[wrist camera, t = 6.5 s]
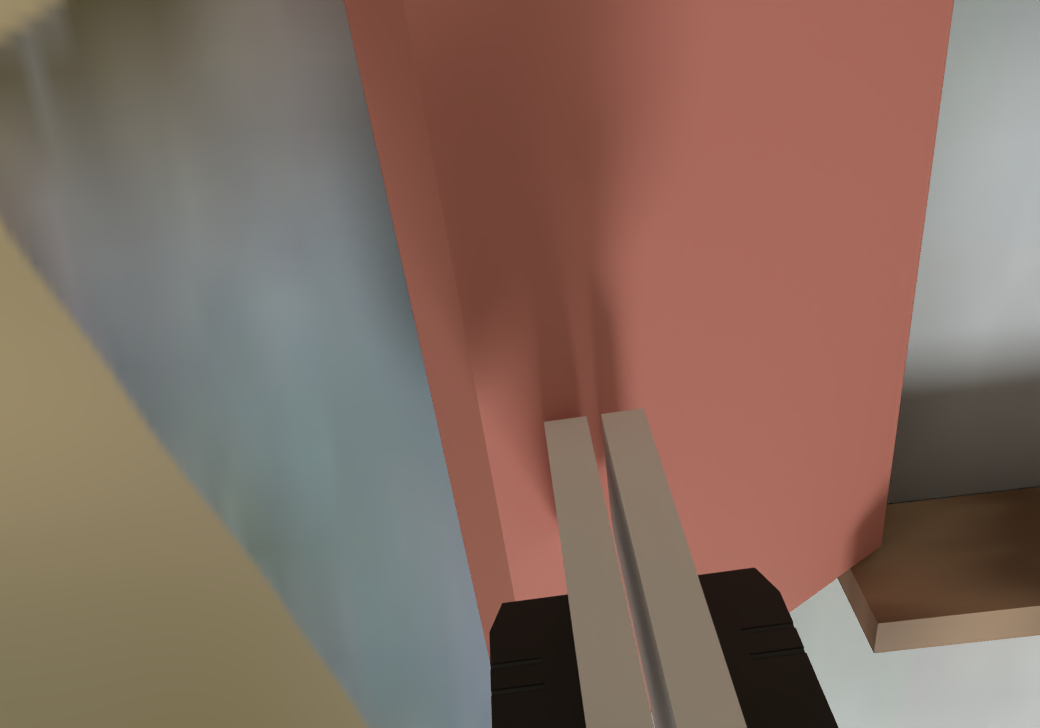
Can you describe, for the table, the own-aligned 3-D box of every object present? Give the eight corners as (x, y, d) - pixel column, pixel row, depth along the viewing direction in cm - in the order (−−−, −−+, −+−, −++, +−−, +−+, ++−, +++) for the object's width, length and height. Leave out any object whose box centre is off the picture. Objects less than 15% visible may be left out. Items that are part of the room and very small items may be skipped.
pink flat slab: (973, -141, 15) (399, -19, 10) (881, 546, 24) (549, 785, 19) (879, -132, 17) (338, -24, 12) (825, 511, 26) (504, 726, 21)
